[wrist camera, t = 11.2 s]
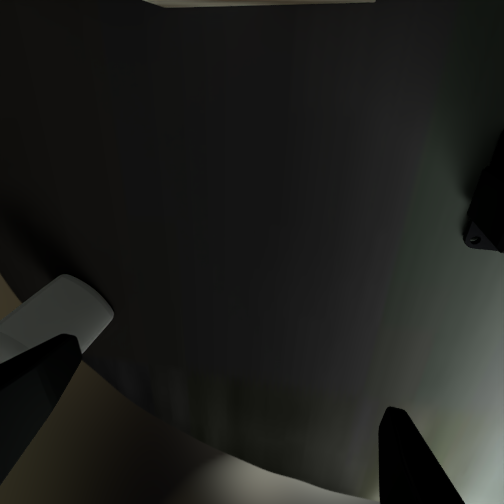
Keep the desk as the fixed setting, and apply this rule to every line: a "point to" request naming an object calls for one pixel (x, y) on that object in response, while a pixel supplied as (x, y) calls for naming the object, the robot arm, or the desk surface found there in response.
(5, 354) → the eye dropper bottle
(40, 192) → the desk surface
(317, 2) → the birch block
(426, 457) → the robot arm
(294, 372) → the desk surface
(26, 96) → the desk surface
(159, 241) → the desk surface
